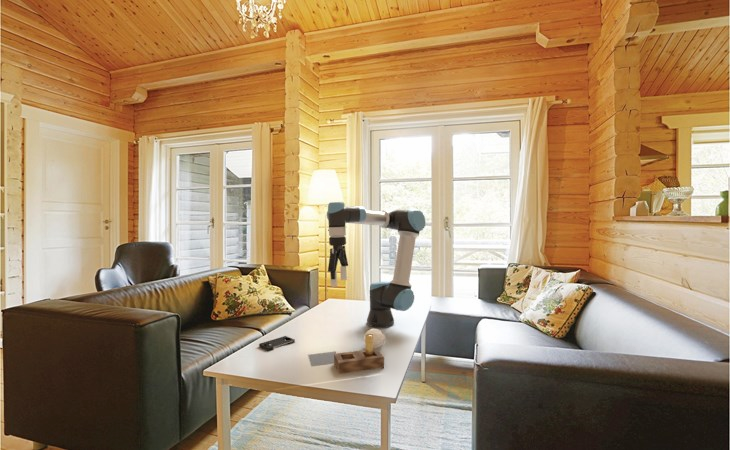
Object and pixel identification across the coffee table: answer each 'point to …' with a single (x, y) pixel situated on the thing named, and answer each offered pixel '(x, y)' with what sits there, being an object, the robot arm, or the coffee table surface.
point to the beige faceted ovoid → (376, 337)
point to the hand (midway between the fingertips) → (339, 283)
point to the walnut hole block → (358, 361)
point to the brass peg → (368, 345)
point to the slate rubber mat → (322, 358)
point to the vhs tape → (276, 343)
